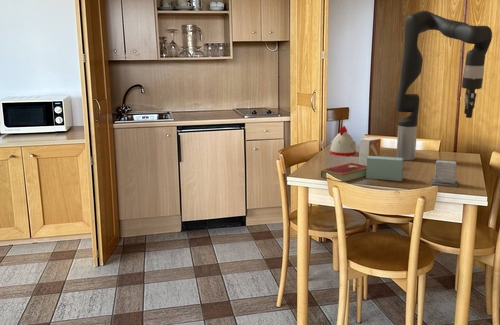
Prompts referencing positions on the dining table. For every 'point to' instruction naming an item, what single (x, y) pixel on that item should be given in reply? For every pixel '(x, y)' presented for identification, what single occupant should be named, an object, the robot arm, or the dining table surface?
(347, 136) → the cream red beanie hat
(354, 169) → the hardcover book
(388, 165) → the block
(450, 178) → the grey upright block
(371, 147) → the small box
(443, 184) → the rubber mat
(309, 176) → the dining table surface
